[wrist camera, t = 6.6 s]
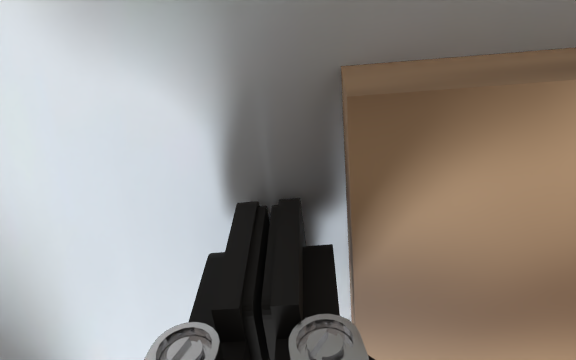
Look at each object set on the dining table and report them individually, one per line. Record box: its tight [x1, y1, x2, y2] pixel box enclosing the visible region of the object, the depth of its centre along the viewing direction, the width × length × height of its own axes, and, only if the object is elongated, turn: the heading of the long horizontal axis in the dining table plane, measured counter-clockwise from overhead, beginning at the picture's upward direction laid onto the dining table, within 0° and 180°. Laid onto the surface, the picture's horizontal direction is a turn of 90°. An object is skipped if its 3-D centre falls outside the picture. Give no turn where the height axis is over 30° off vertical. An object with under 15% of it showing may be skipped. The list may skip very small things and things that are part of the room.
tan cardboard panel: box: [341, 48, 576, 360], centre depth 11 cm, size 9×10×2 cm
